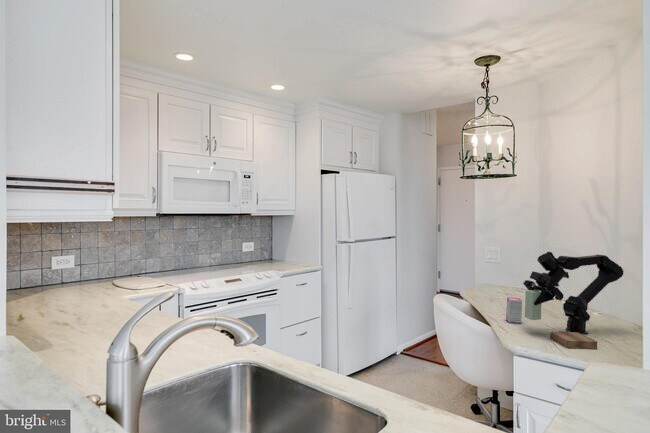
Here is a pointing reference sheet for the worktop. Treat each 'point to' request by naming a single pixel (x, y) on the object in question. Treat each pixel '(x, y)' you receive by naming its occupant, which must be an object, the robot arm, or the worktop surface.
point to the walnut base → (573, 340)
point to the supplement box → (514, 310)
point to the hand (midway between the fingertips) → (530, 303)
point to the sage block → (532, 305)
